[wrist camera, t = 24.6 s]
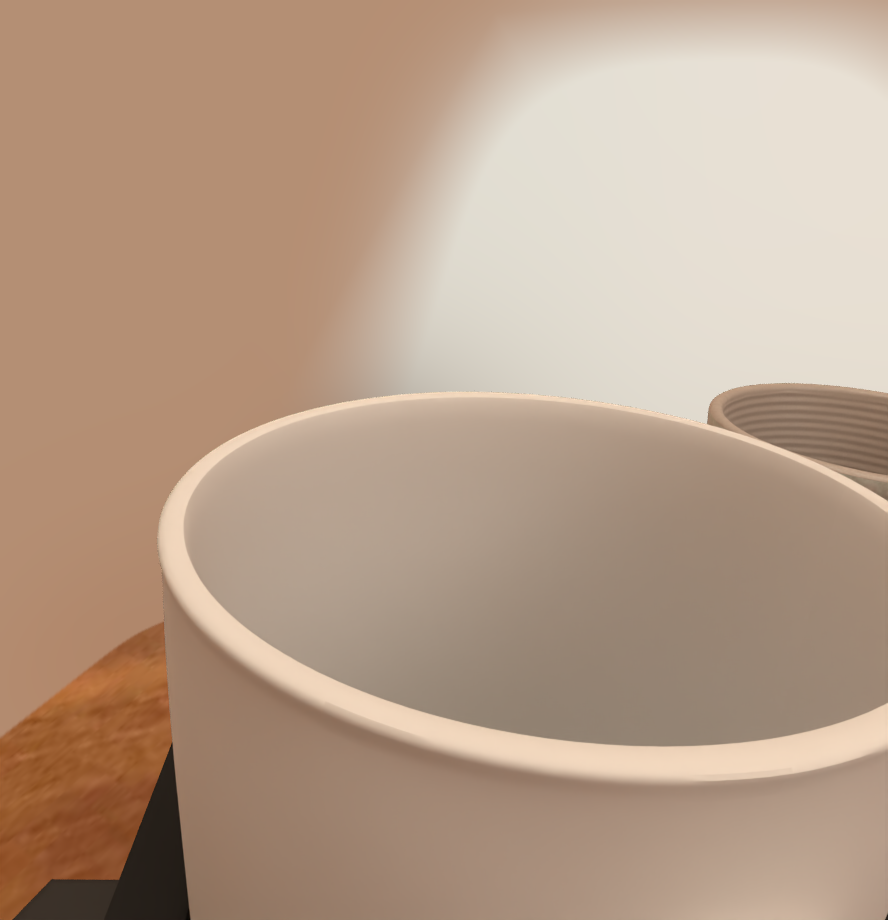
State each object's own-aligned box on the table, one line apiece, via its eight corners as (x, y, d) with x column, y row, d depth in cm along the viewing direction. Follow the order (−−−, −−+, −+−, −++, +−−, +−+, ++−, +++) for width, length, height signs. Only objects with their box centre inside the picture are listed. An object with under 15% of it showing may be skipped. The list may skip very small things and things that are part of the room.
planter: (877, 809, 39) (969, 518, 34) (611, 637, 52) (646, 404, 46) (1022, 690, 49) (1112, 448, 43) (768, 569, 61) (813, 370, 56)
